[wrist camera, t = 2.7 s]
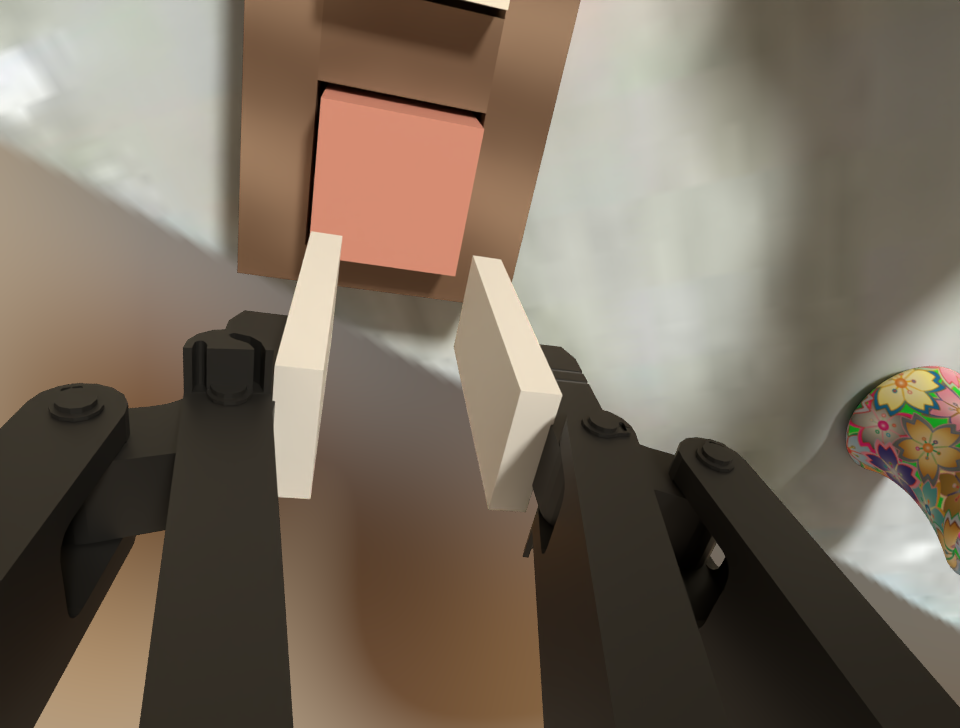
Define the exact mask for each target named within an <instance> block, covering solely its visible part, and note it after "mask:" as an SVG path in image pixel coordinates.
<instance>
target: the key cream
mask: <svg viewBox="0 0 960 728" xmlns="http://www.w3.org/2000/svg"><path fill="white" fill-rule="evenodd" d="M463 1H467V2H471V3H475V4H479V5H484V6H488V7H493V8H498V9H504V10H508V8H509V3H510V0H463Z"/></svg>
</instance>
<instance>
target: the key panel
mask: <svg viewBox="0 0 960 728" xmlns="http://www.w3.org/2000/svg"><path fill="white" fill-rule="evenodd" d="M579 4H580V0H510V3H509V8H508V10H504V9H498V8H493V7H488V6H484V5H479V4H475V3H471V2H467V1H463V0H244V38H243V77H242V115H241V154H240V192H239V231H238V270H237V272H238V273H244V274H252V275H259V276H266V277H274V278H282V279H289V280H297V281H298V278H299V274H300V270H301V267H302V263H303V259H304V256H305V252H306V248H307V245H308V241H309V237H310V228H311V216H312V203H313V191H314V179H315V166H316V154H317V141H318V129H319V117H320V104H321V97H322V95H323V93H324V91H325V89H326V87H327V85H328V83H330V84H335V85H340V86H345V87H350V88H355V89H360V90H365V91H370V92H375V93H380V94H385V95H390V96H395V97H401V98H406V99H411V100H416V101H421V102H426V103H431V104H436V105H441V106H446V107H451V108H456V109H461V110H466V111H471V112H472V113H473V115H474V116H475V117H476V119H477V120H478V121H479V123H480V124H481V125H482V127H483V128H484V134H483V139H482V144H481V149H480V154H479V159H478V164H477V169H476V174H475V179H474V184H473V189H472V194H471V199H470V204H469V209H468V214H467V219H466V224H465V229H464V235H463V240H462V245H461V250H460V255H459V260H458V265H457V270H456V275H455V276H449V275H442V274H435V273H427V272H420V271H413V270H406V269H399V268H392V267H385V266H378V265H371V264H363V263H356V262H349V261H342V260H340V264H339V274H338V283H337V286H342V287H350V288H357V289H365V290H372V291H380V292H388V293H395V294H403V295H410V296H418V297H425V298H433V299H441V300H448V301H456V302H463V300H464V296H465V291H466V286H467V281H468V276H469V272H470V267H471V262H472V257H473V255H474V256H481V257H487V258H494V259H501V261H502V263H503V265H504V267H505V269H506V272H507V274H508V276H509V278H510V280H511V283H512V279H513V275H514V271H515V267H516V262H517V258H518V254H519V250H520V246H521V242H522V238H523V234H524V230H525V226H526V221H527V217H528V213H529V209H530V205H531V201H532V197H533V193H534V189H535V185H536V181H537V176H538V172H539V168H540V164H541V160H542V156H543V152H544V148H545V144H546V140H547V135H548V131H549V127H550V123H551V119H552V115H553V111H554V107H555V103H556V99H557V95H558V90H559V86H560V82H561V78H562V74H563V70H564V66H565V62H566V58H567V54H568V49H569V45H570V41H571V37H572V33H573V29H574V25H575V21H576V17H577V13H578V9H579Z"/></svg>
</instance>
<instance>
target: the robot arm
mask: <svg viewBox="0 0 960 728" xmlns="http://www.w3.org/2000/svg"><path fill="white" fill-rule="evenodd" d="M341 245H342V236H340V235H333V234H326V233H320V232H313V231H311V234H310V237H309V241H308V245H307V248H306V252H305V256H304V259H303V263H302V267H301V270H300V274H299V278H298V281H297V285H296V289H295V292H294V296H293V300H292V303H291V307H290V311H289V314H288V316H286V315H277V314H269V313H261V312H253V311H243V312H242V313H240V314H238V315H237V316H235V317H234V318H232V319H231V320H229V322H228V324H227V326H226V329H224V330H212V331H207V332H204V333H199V334H197V335H195V336H194V337H192V338H190V339H188V340H187V342H186V344H185V345H184V347H183V368H184V369H183V372H184V396H183V399H181V400H179V401H175V402H172V403H169V404H164V405H158V406H150V407H139V408H128V403H127V400H126V398H125V396H124V394H122V393H120V392H119V391H117V390H116V389H114V388H111V387H107V386H103V385H99V384H83V383H77V384H70V385H69V384H68V385H63V386H58V387H55V388H52V389H49V390H46V391H43V392H41V393H39V394H38V395H36V396H35V397H33V398H32V399H30V400H29V401H27V402H26V403H25V404H24V405H23V406H22V407H21V408H20V409H19V411H18V412H16V413H15V415H13V416H12V417H11V418H10V419H9V420H8V422H6V423H5V424H4V425H3V426H2V427H1V428H0V728H34V726H35V724H36V722H37V720H38V718H39V717H40V715H41V713H42V711H43V709H44V707H45V706H46V704H47V702H48V700H49V698H50V696H51V695H52V693H53V691H54V689H55V687H56V686H57V683H58V682H59V680H60V678H61V676H62V675H63V673H64V671H65V669H66V667H67V665H68V664H69V662H70V660H71V658H72V656H73V654H74V652H75V651H76V648H77V647H78V645H79V643H80V641H81V639H82V638H83V636H84V634H85V632H86V630H87V629H88V627H89V625H90V623H91V621H92V619H93V618H94V616H95V614H96V612H97V610H98V608H99V607H100V605H101V602H102V601H103V599H104V597H105V595H106V594H107V592H108V590H109V588H110V586H111V585H112V583H113V581H114V579H115V577H116V575H117V573H118V571H119V570H120V568H121V566H122V564H123V563H124V561H125V559H126V557H127V555H128V553H129V552H130V549H131V548H132V546H133V544H134V541H135V537H136V535H140V534H146V533H151V532H157V531H162V530H165V538H164V545H163V553H162V560H161V568H160V575H159V582H158V591H157V598H156V605H155V613H154V620H153V628H152V635H151V642H150V650H149V657H148V665H147V672H146V680H145V687H144V695H143V702H142V710H141V717H140V724H139V728H293V716H292V701H291V686H290V670H289V657H288V656H289V655H288V640H287V625H286V609H285V594H284V579H283V565H282V549H281V534H280V518H279V503H278V497H287V498H302V499H310V498H311V491H312V482H313V475H314V467H315V460H316V453H317V445H318V437H319V430H320V421H321V415H322V414H321V413H322V406H323V399H324V391H325V384H326V377H327V369H328V361H329V354H330V346H331V339H332V330H333V321H334V312H335V302H336V293H337V283H338V274H339V264H340V255H341ZM454 350H455V355H456V360H457V364H458V369H459V374H460V379H461V383H462V388H463V393H464V397H465V402H466V407H467V411H468V416H469V421H470V426H471V430H472V435H473V440H474V445H475V450H476V454H477V458H478V464H479V468H480V473H481V478H482V482H483V487H484V492H485V497H486V501H487V506H488V510H500V511H517V512H526V510H527V506H528V504H529V500H530V497H531V494H532V491H533V490H534V493H535V496H536V500H537V503H538V509H537V512H536V515H535V518H534V521H533V524H532V527H531V530H530V533H529V536H528V540H527V543H526V546H525V549H524V553H523V557H529V554H530V551H531V549H532V548H533V550H534V567H535V584H536V601H537V617H538V634H539V650H540V668H541V684H542V701H543V718H544V728H960V707H959V706H958V705H957V704H956V703H955V702H954V700H953V699H952V698H951V697H950V696H949V695H948V693H947V692H946V691H945V690H944V689H943V688H942V686H941V685H940V684H939V683H938V682H937V681H936V680H935V678H933V676H932V675H931V674H930V673H929V671H928V670H927V669H926V668H925V667H924V666H923V665H922V663H921V662H920V661H919V660H918V659H917V658H916V657H915V656H914V654H913V653H912V652H911V651H910V650H909V648H907V646H906V645H905V644H904V643H903V642H902V640H901V639H900V638H899V637H898V636H897V635H896V634H895V632H894V631H893V630H892V629H891V628H890V627H889V626H888V624H887V623H886V622H885V621H884V620H883V619H882V617H881V616H880V615H879V614H878V613H877V612H876V611H875V609H874V608H873V607H872V606H871V605H870V604H869V602H868V601H867V600H866V599H865V598H864V597H863V595H862V594H861V593H860V592H859V591H858V590H857V589H856V587H854V585H853V584H852V583H851V582H850V581H849V579H848V578H847V577H846V576H845V575H844V574H843V572H842V571H841V570H840V569H839V568H838V567H837V566H836V564H835V563H834V562H833V561H832V560H831V559H830V557H829V556H828V555H827V554H826V553H825V552H824V551H823V549H822V548H821V547H820V546H819V545H818V544H817V542H816V541H815V540H814V539H813V538H812V537H811V536H810V534H809V533H808V532H807V531H806V530H805V529H804V528H803V526H802V525H801V524H800V523H799V522H798V521H797V519H796V518H795V517H794V516H793V515H792V514H791V513H790V511H789V510H788V509H787V508H786V507H785V506H784V504H783V503H782V502H781V501H780V500H779V499H778V498H777V496H776V495H775V494H774V493H773V492H772V491H771V490H770V488H769V487H768V486H767V485H766V484H765V483H764V481H763V480H762V479H761V478H760V477H759V476H758V475H757V473H756V472H755V471H754V470H753V469H752V468H751V466H750V465H749V464H748V463H747V462H746V461H745V460H744V459H743V458H742V457H741V456H740V455H739V454H737V453H736V452H735V451H733V450H732V449H730V448H728V447H727V446H726V445H724V444H722V443H720V442H718V441H717V442H716V441H715V440H711V439H704V438H698V437H695V438H686V439H685V440H683V441H682V442H680V444H679V446H678V448H677V451H676V453H675V455H672V454H669V453H665V452H662V451H658V450H655V449H652V448H648V447H645V446H643V445H640V444H639V442H638V439H637V436H636V433H635V432H634V430H633V429H632V427H631V426H630V425H629V424H628V423H627V422H626V421H624V420H623V419H622V418H620V417H618V416H616V415H614V414H612V413H611V412H608V411H604V410H602V408H601V406H600V404H599V402H598V401H597V399H596V397H595V395H594V393H593V391H592V389H591V387H590V386H589V384H587V380H586V378H585V376H584V374H582V370H581V369H580V367H579V365H578V363H577V361H576V359H575V358H574V357H572V356H571V355H570V354H569V353H568V352H566V351H565V350H564V349H563V348H562V347H557V346H549V345H541V344H539V342H538V340H537V338H536V336H535V333H534V331H533V329H532V327H531V325H530V322H529V320H528V318H527V316H526V314H525V311H524V309H523V307H522V305H521V303H520V300H519V298H518V296H517V294H516V292H515V289H514V287H513V285H512V283H511V280H510V278H509V276H508V274H507V272H506V269H505V267H504V265H503V263H502V261H501V259H494V258H487V257H481V256H474V255H473V257H472V262H471V267H470V272H469V276H468V281H467V286H466V291H465V296H464V300H463V305H462V310H461V315H460V320H459V324H458V329H457V334H456V339H455V344H454ZM716 543H717V544H718V545H719V546H720V548H721V549H722V551H723V552H724V555H725V559H724V561H723V563H722V564H721V566H720V567H718V566H717V565H716V564H715V563H714V561H713V560H712V559H711V557H710V554H711V553H712V551H713V549H714V547H715V545H716Z"/></svg>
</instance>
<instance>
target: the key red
mask: <svg viewBox="0 0 960 728" xmlns="http://www.w3.org/2000/svg"><path fill="white" fill-rule="evenodd" d="M483 134H484V128H483V127H482V125H481V124H480V123H479V121H478V120H477V119H476V117H475V116H474V115H473V113H472V112H471V111H466V110H461V109H456V108H451V107H446V106H441V105H436V104H431V103H426V102H421V101H416V100H411V99H406V98H401V97H395V96H390V95H385V94H380V93H375V92H370V91H365V90H360V89H355V88H350V87H345V86H340V85H335V84H330V83H328V85H327V87H326V89H325V91H324V93H323V95H322V97H321V104H320V117H319V129H318V141H317V154H316V166H315V179H314V191H313V203H312V216H311V228H310V234H311V231H313V232H320V233H326V234H333V235H340V236H342V245H341V255H340V260H342V261H349V262H356V263H363V264H371V265H378V266H385V267H392V268H399V269H406V270H413V271H420V272H427V273H435V274H442V275H449V276H455V275H456V270H457V265H458V260H459V255H460V250H461V245H462V240H463V235H464V229H465V224H466V219H467V214H468V209H469V204H470V199H471V194H472V189H473V184H474V179H475V174H476V169H477V164H478V159H479V154H480V149H481V144H482V139H483Z"/></svg>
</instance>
